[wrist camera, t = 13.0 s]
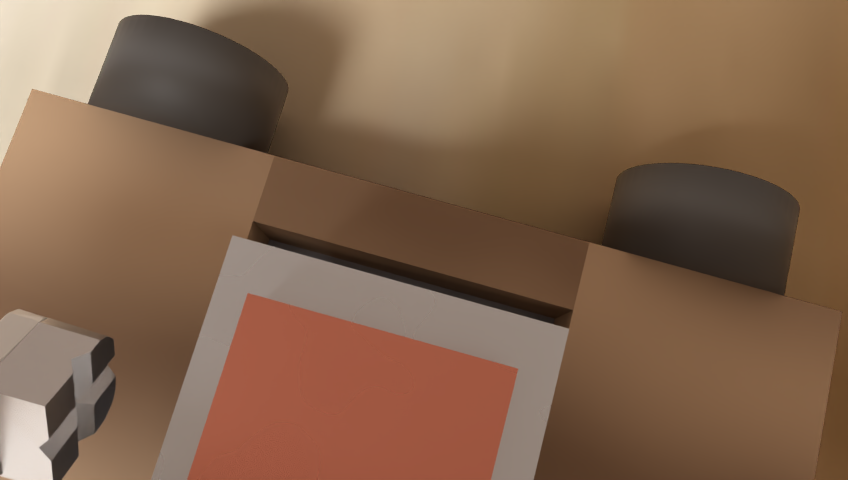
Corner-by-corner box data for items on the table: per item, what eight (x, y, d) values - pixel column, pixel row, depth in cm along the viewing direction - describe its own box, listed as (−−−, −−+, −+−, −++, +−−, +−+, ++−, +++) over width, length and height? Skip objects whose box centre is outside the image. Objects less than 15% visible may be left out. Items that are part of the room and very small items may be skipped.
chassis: (667, 903, 16) (750, 1064, 12) (-117, 668, 17) (-274, 752, 13) (788, 247, 19) (885, 211, 15) (115, 64, 20) (44, -17, 16)
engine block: (437, 620, 16) (467, 832, 9) (217, 557, 17) (50, 706, 9) (505, 352, 18) (585, 322, 10) (298, 294, 18) (215, 220, 10)
